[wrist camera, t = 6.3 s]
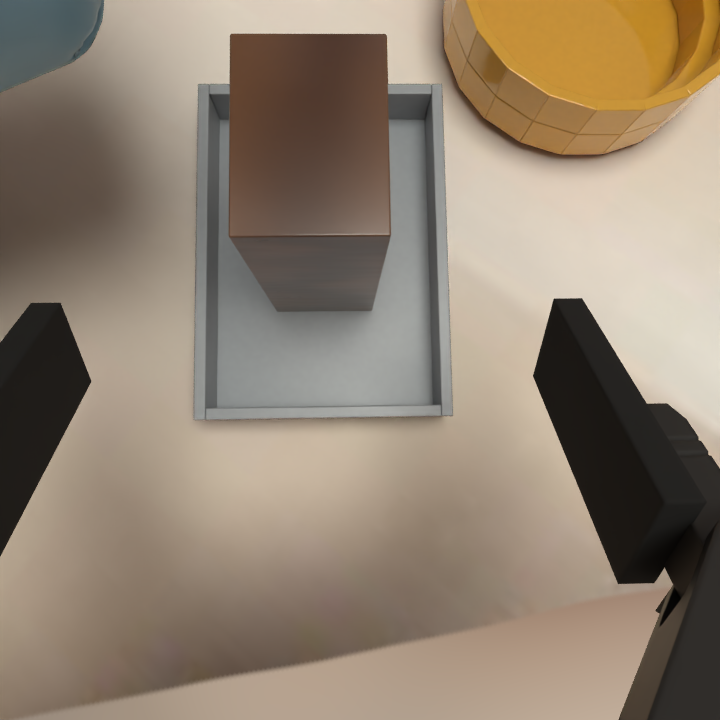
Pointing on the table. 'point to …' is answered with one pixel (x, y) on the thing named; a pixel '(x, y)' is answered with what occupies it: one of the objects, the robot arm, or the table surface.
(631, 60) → the bowl
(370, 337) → the tin
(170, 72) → the table surface
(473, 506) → the table surface
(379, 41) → the walnut block
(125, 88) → the table surface
